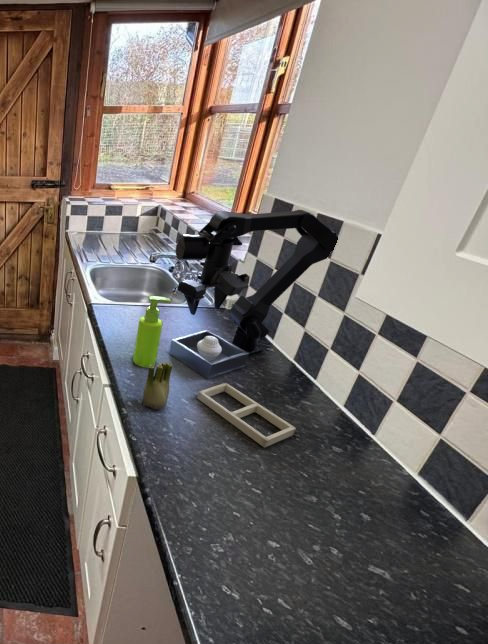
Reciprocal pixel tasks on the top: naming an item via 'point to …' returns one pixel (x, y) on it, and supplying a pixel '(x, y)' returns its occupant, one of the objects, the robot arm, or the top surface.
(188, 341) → the blue-grey square tray
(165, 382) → the fennel bulb
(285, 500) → the top surface
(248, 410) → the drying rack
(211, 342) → the white spiral shell
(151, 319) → the soap dispenser
